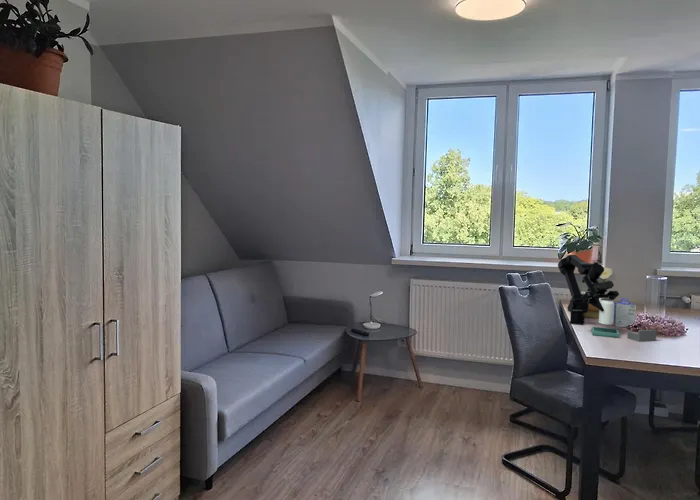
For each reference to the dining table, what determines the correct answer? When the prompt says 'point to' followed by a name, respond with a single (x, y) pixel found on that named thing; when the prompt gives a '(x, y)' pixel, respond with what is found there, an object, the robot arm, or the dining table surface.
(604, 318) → the can
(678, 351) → the dining table surface
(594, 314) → the diary
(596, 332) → the tray
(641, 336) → the bay
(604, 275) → the flower in vase
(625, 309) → the ink cartridge box
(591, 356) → the dining table surface
